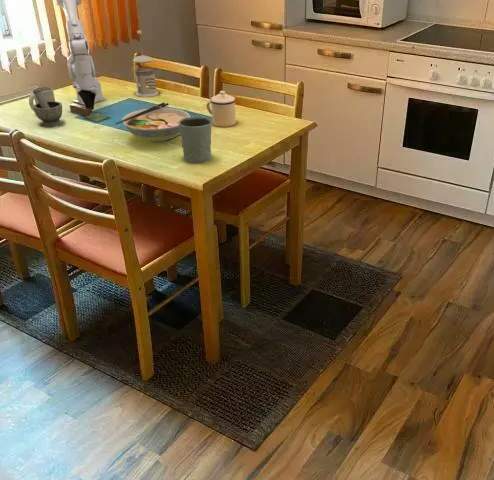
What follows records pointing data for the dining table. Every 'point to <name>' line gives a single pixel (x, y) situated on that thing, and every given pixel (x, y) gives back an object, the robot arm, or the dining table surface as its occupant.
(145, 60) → the french press
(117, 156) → the dining table surface
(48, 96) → the cup
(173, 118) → the ramen bowl
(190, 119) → the grey embossed tumbler
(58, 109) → the mortar and pestle
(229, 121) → the teacup with lid
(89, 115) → the spatula
